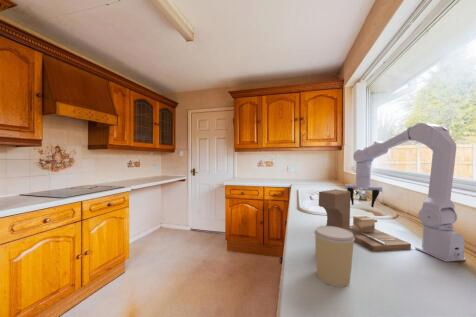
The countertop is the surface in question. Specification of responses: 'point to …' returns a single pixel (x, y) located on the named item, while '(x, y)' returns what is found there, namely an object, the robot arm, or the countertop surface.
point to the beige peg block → (364, 223)
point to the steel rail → (368, 236)
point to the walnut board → (390, 241)
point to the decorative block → (336, 207)
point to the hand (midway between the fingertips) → (362, 205)
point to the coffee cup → (334, 255)
